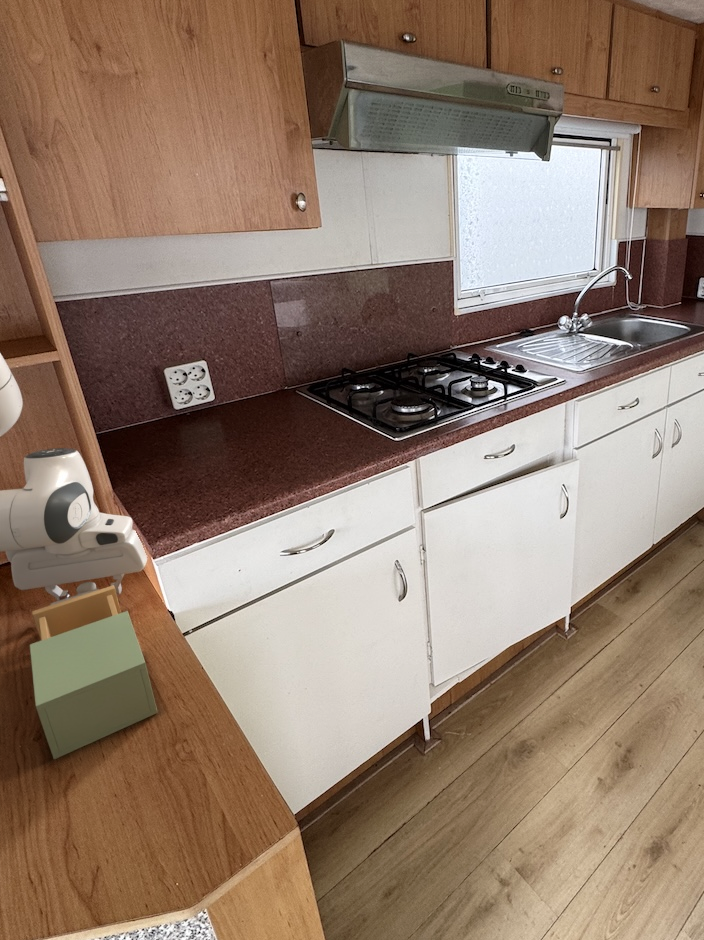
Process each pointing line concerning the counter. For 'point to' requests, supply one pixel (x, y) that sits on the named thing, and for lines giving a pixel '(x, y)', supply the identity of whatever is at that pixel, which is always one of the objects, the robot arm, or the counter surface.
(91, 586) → the pacifier
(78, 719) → the cabinet
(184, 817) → the counter surface
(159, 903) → the counter surface
